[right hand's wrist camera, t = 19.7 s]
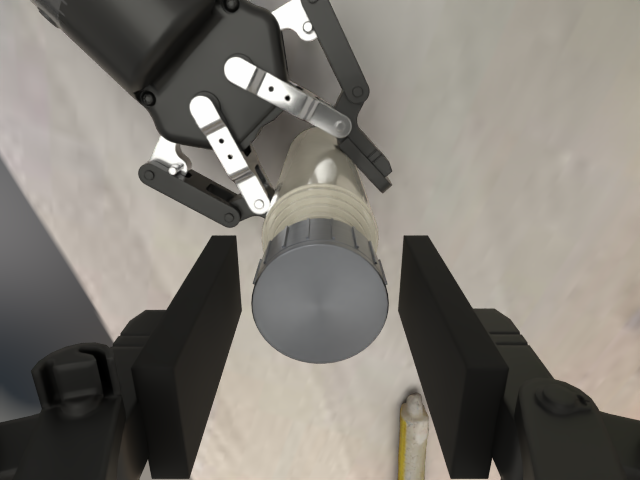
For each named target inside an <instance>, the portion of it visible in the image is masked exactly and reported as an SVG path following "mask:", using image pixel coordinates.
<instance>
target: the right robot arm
mask: <svg viewBox="0 0 640 480" xmlns="http://www.w3.org/2000/svg"><path fill="white" fill-rule="evenodd" d="M241 312H242V307H241V293H240V280H239V267H238V253H237V240H236V236H212V237H211V238H210V240H209V242H208V243H207V245H206V246H205V248H204V250H203V251H202V253H201V255H200V256H199V258H198V259H197V261H196V263H195V264H194V266H193V268H192V269H191V271H190V272H189V274H188V276H187V277H186V279H185V281H184V282H183V284H182V286H181V287H180V289H179V290H178V292H177V294H176V295H175V297H174V299H173V300H172V302H171V303H170V305H169V307H168V308H167V310H145V311H144V312H142V313H141V314H139V315H138V316H136V317H135V318H133V319H132V320H130V321H129V323H128V324H127V325H126V327H125V328H124V330H123V331H122V332H121V335H120V336H118V338H117V339H116V340H115V342H114V343H113V347H110V348H109V347H108V346H107V345H104V344H99V343H80V344H75V345H71V346H67V347H64V348H62V349H59V350H57V351H55V352H52V353H50V354H49V355H47V356H46V357H44V358H43V359H42V360H40V361H39V362H38V363H37V364H36V365H35V366H34V368H33V369H32V370H31V373H32V376H33V380H34V383H35V386H36V390H37V393H38V397H39V400H40V404H41V407H42V410H41V412H40V413H39V414H36V415H32V416H28V417H24V418H19V419H15V420H10V421H5V422H1V423H0V480H139V479H140V476H141V474H142V471H143V469H144V467H145V465H146V462H147V460H148V461H149V466H150V472H151V477H152V479H189V478H190V475H191V472H192V468H193V465H194V462H195V459H196V456H197V452H198V449H199V446H200V443H201V440H202V436H203V433H204V430H205V427H206V424H207V420H208V417H209V414H210V411H211V408H212V404H213V401H214V398H215V395H216V392H217V388H218V385H219V382H220V379H221V376H222V372H223V369H224V366H225V363H226V360H227V356H228V353H229V350H230V347H231V344H232V340H233V337H234V334H235V331H236V328H237V324H238V321H239V318H240V315H241ZM398 312H399V315H400V318H401V321H402V324H403V328H404V331H405V334H406V337H407V340H408V344H409V347H410V350H411V353H412V356H413V360H414V363H415V366H416V369H417V372H418V376H419V379H420V382H421V385H422V388H423V392H424V395H425V398H426V401H427V404H428V408H429V411H430V414H431V417H432V420H433V424H434V427H435V430H436V433H437V436H438V440H439V443H440V446H441V449H442V452H443V456H444V459H445V462H446V465H447V468H448V472H449V475H450V478H451V479H488V477H489V472H490V466H491V461H492V458H493V460H494V462H495V465H496V467H497V469H498V472H499V474H500V476H501V480H640V421H639V420H635V419H630V418H625V417H621V416H616V415H612V414H608V413H604V412H601V411H599V409H598V407H597V406H596V405H595V403H594V402H593V400H592V399H591V398H590V397H589V396H588V395H586V394H585V393H584V392H583V391H581V390H580V389H578V388H576V387H574V386H572V385H570V384H568V383H566V382H562V381H559V380H555V379H554V378H553V377H552V375H551V374H550V373H549V371H548V370H547V368H546V367H545V366H544V364H543V363H542V362H541V360H540V359H539V358H538V356H537V355H536V354H535V352H534V351H533V349H532V348H531V347H530V345H528V344H527V341H526V340H525V339H524V337H523V336H522V335H520V332H519V330H518V329H517V328H516V326H515V325H514V324H513V322H512V321H511V319H509V318H508V317H506V316H505V315H503V314H502V313H500V312H499V311H497V310H496V309H473V308H472V307H471V305H470V303H469V302H468V300H467V299H466V297H465V295H464V294H463V292H462V290H461V289H460V287H459V286H458V284H457V282H456V281H455V279H454V277H453V276H452V274H451V273H450V271H449V269H448V268H447V266H446V264H445V263H444V261H443V259H442V258H441V256H440V255H439V253H438V251H437V250H436V248H435V246H434V245H433V243H432V242H431V240H430V238H429V237H428V236H404V240H403V253H402V267H401V280H400V293H399V307H398Z"/></svg>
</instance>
